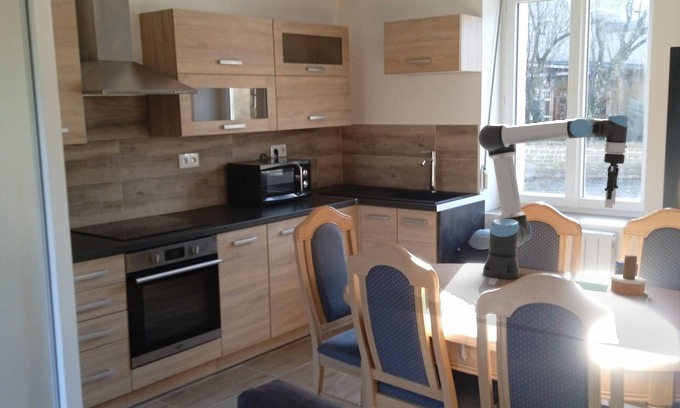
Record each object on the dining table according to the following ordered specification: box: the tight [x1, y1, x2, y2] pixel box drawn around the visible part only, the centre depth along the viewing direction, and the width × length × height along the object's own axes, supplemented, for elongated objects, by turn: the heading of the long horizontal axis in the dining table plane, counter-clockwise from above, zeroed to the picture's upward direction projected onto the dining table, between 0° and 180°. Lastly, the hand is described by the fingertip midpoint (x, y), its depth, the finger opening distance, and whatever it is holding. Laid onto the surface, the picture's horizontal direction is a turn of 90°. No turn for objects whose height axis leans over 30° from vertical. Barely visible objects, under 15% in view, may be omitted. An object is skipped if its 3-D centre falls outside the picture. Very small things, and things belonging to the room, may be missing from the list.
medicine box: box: [614, 260, 639, 277], centre depth 290 cm, size 8×4×9 cm, turn 84°
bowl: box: [610, 279, 646, 296], centre depth 272 cm, size 12×12×5 cm
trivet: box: [574, 280, 610, 293], centre depth 279 cm, size 13×13×1 cm
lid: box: [610, 254, 648, 285], centre depth 271 cm, size 13×13×10 cm
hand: (609, 205), depth 281 cm, fingers open, 13 cm apart
